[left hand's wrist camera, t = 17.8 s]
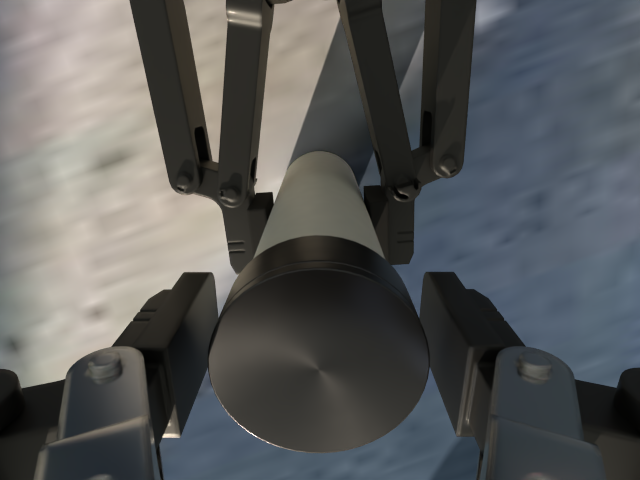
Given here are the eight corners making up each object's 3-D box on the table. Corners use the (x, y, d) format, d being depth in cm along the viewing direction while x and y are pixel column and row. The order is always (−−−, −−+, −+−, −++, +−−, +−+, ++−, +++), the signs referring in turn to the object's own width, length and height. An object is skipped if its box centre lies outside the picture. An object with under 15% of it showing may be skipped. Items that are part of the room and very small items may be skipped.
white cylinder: (370, 177, 24) (452, 330, 9) (329, 235, 25) (343, 452, 10) (308, 136, 23) (289, 230, 8) (269, 197, 24) (191, 375, 10)
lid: (294, 195, 10) (288, 222, 8) (450, 302, 10) (477, 347, 9) (192, 339, 11) (166, 390, 9) (338, 421, 12) (341, 483, 10)
